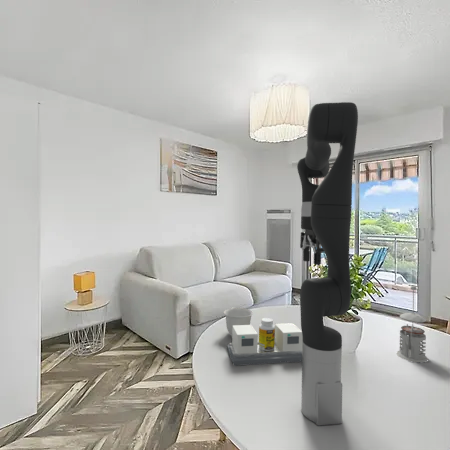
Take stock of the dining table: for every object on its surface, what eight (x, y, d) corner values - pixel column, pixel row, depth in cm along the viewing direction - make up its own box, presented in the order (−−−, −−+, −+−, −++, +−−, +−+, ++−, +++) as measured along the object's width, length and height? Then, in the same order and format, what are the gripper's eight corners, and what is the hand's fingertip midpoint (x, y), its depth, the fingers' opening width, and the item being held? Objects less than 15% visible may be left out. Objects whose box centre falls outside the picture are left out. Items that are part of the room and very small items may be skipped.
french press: (431, 356, 106) (432, 286, 106) (424, 367, 98) (426, 291, 98) (399, 348, 113) (401, 282, 113) (391, 358, 105) (392, 286, 104)
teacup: (243, 327, 133) (243, 305, 133) (257, 340, 119) (257, 315, 118) (217, 330, 129) (217, 307, 129) (228, 343, 115) (229, 317, 115)
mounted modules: (292, 341, 112) (293, 323, 112) (302, 352, 103) (303, 332, 103) (232, 344, 109) (232, 325, 109) (237, 356, 99) (237, 335, 99)
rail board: (294, 345, 114) (294, 341, 114) (308, 360, 102) (309, 356, 101) (227, 348, 110) (227, 344, 110) (233, 365, 98) (233, 360, 98)
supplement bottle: (265, 353, 102) (266, 323, 102) (255, 347, 107) (255, 318, 106) (277, 349, 105) (278, 320, 105) (267, 344, 110) (267, 316, 109)
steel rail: (295, 343, 112) (295, 339, 112) (305, 354, 103) (305, 350, 103) (229, 346, 109) (229, 343, 109) (234, 358, 100) (234, 354, 100)
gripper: (333, 215, 96) (332, 265, 96) (313, 216, 110) (312, 260, 110) (311, 215, 95) (310, 266, 95) (294, 215, 109) (293, 260, 109)
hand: (311, 262), depth 103 cm, fingers open, 8 cm apart
